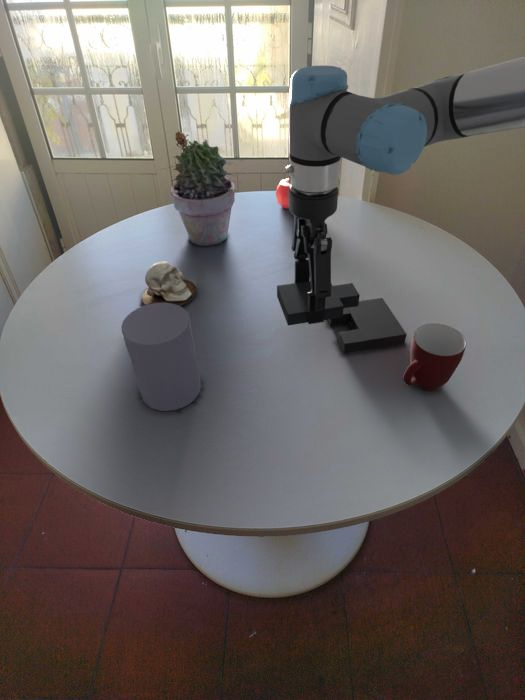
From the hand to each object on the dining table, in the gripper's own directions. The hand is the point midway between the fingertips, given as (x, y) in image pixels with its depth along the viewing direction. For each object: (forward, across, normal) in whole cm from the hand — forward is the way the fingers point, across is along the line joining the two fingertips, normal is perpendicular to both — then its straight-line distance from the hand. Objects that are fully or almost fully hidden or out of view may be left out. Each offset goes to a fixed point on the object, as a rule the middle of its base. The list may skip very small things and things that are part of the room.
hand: (308, 305), depth 86 cm
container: (+8, +8, -27) cm, 29 cm away
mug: (+8, +17, +16) cm, 25 cm away
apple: (+8, -58, +10) cm, 59 cm away
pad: (0, 0, +2) cm, 2 cm away
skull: (+8, -21, -26) cm, 34 cm away
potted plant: (+8, -45, -14) cm, 48 cm away
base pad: (+8, 0, +11) cm, 14 cm away
